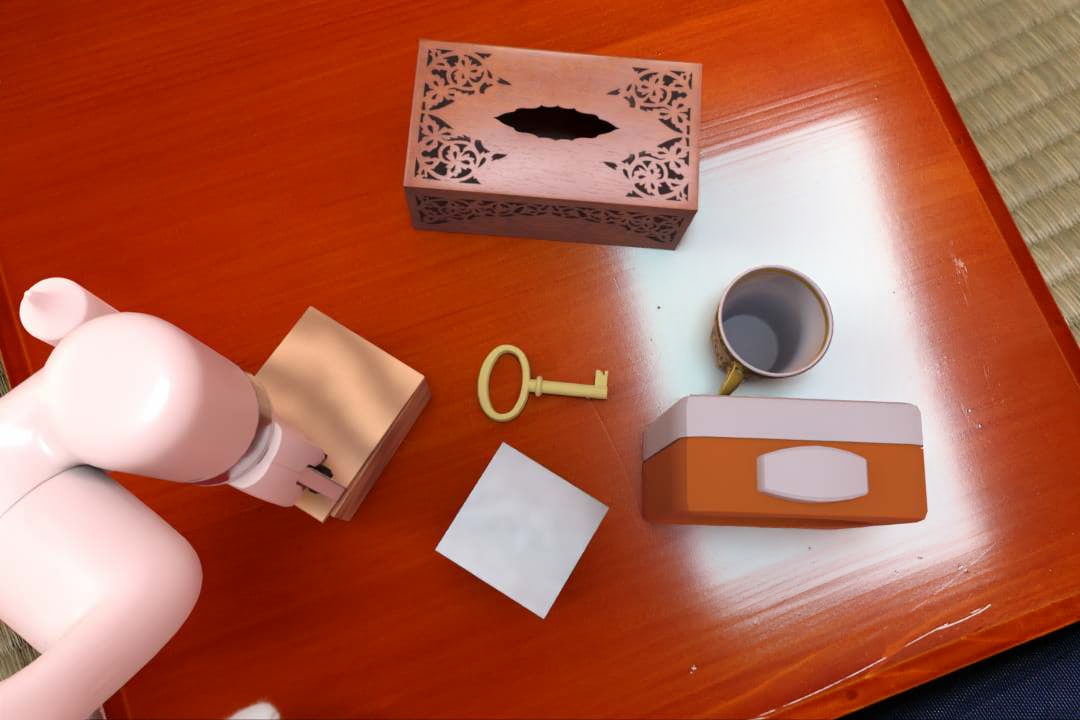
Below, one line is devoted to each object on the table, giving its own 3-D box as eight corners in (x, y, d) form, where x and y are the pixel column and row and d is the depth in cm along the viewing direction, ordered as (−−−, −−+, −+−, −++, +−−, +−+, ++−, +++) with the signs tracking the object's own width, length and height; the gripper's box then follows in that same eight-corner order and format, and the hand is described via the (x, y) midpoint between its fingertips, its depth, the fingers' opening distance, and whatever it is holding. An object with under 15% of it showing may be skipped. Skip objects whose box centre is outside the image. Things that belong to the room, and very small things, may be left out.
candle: (130, 341, 81) (-28, 246, 56) (207, 334, 81) (83, 237, 57) (130, 416, 79) (-32, 351, 55) (209, 408, 80) (83, 341, 55)
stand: (529, 601, 77) (544, 620, 53) (453, 553, 78) (434, 550, 53) (575, 523, 79) (610, 507, 55) (500, 477, 80) (502, 440, 55)
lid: (323, 523, 68) (315, 512, 64) (202, 446, 69) (186, 429, 64) (425, 379, 73) (425, 359, 69) (311, 308, 74) (303, 284, 70)
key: (612, 400, 82) (615, 396, 80) (484, 427, 81) (483, 423, 78) (595, 328, 83) (597, 322, 81) (469, 353, 82) (468, 348, 80)
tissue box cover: (413, 229, 85) (403, 185, 75) (428, 96, 88) (419, 38, 78) (675, 250, 85) (697, 210, 76) (679, 118, 89) (701, 63, 79)
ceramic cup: (728, 279, 85) (758, 242, 75) (813, 336, 84) (855, 307, 74) (655, 383, 82) (676, 360, 72) (743, 444, 81) (776, 429, 72)
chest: (349, 521, 78) (333, 517, 70) (243, 453, 79) (216, 442, 71) (432, 395, 81) (425, 378, 73) (329, 331, 82) (312, 308, 74)
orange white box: (640, 523, 79) (688, 511, 59) (640, 428, 81) (687, 386, 61) (838, 530, 80) (952, 520, 60) (834, 436, 82) (943, 396, 62)
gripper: (47, 398, 51) (167, 435, 69) (286, 553, 50) (346, 550, 67) (125, 294, 52) (223, 356, 70) (360, 442, 51) (399, 467, 69)
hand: (283, 451), depth 69 cm, fingers closed on lid, 5 cm apart
